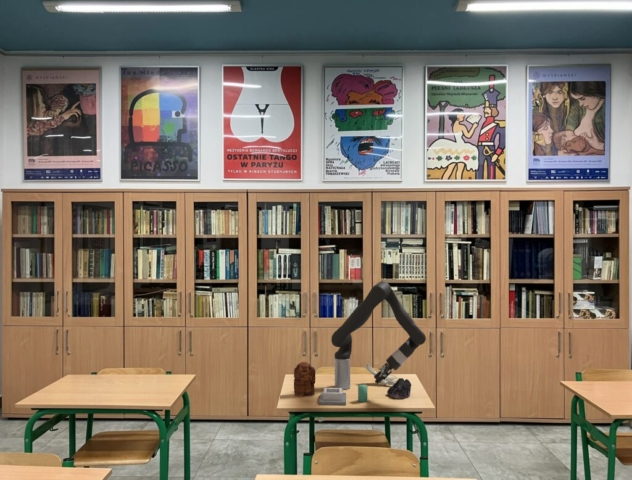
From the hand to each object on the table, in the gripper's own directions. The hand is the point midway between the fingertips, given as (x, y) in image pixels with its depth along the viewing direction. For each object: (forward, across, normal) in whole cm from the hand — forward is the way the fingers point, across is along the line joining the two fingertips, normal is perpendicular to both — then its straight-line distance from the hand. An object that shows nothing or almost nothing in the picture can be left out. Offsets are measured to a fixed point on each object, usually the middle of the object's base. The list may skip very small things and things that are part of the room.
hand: (375, 380), depth 264 cm
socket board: (+24, -1, -8) cm, 25 cm away
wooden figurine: (+35, -10, -20) cm, 42 cm away
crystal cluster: (-2, -11, +18) cm, 21 cm away
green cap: (+12, 0, +3) cm, 13 cm away
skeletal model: (+3, -34, +13) cm, 36 cm away
